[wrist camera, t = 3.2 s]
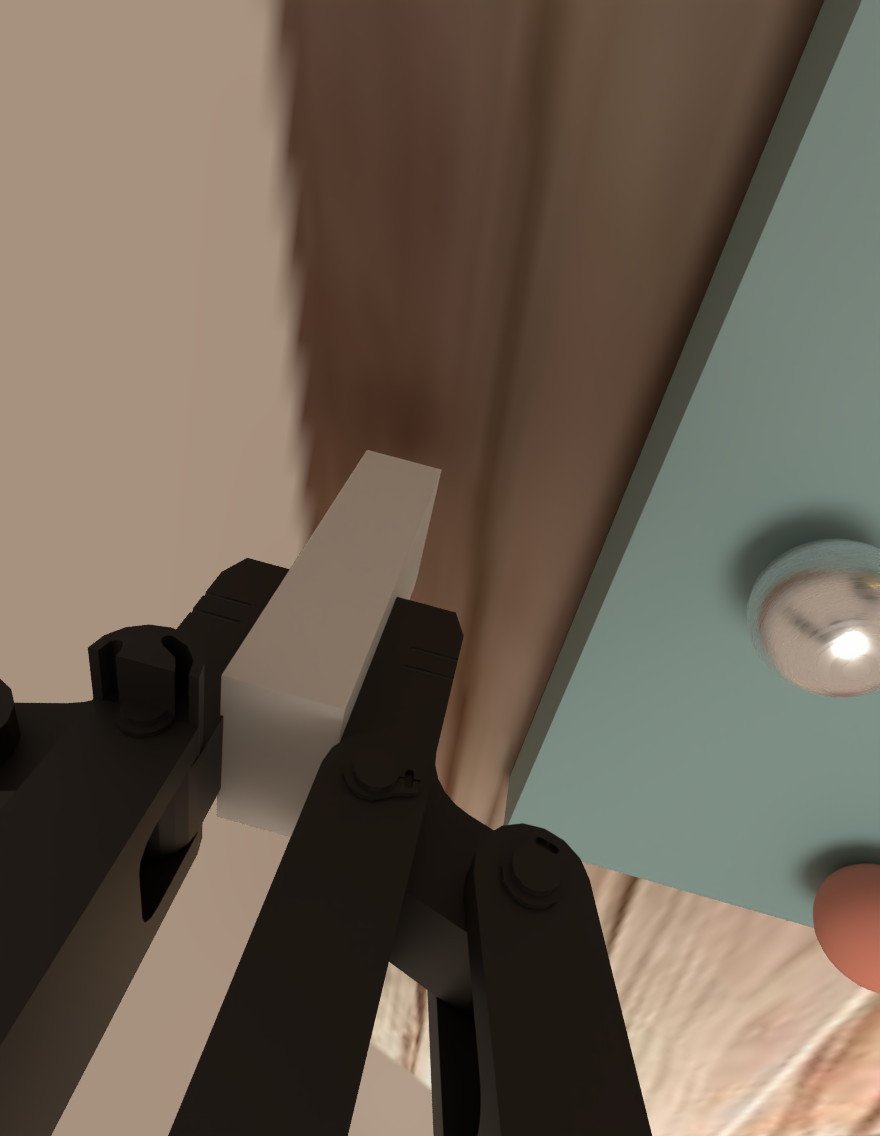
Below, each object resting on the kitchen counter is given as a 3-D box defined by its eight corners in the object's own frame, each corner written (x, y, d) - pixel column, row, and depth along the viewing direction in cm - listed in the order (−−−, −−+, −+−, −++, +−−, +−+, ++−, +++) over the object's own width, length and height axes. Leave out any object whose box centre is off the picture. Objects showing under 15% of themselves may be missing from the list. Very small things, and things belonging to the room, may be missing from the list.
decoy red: (835, 826, 20) (872, 938, 17) (948, 858, 20) (1004, 976, 17) (780, 888, 21) (806, 998, 19) (884, 917, 21) (925, 1032, 19)
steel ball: (775, 493, 15) (814, 578, 12) (927, 533, 15) (1001, 628, 12) (711, 610, 17) (733, 706, 14) (846, 646, 16) (893, 750, 14)
